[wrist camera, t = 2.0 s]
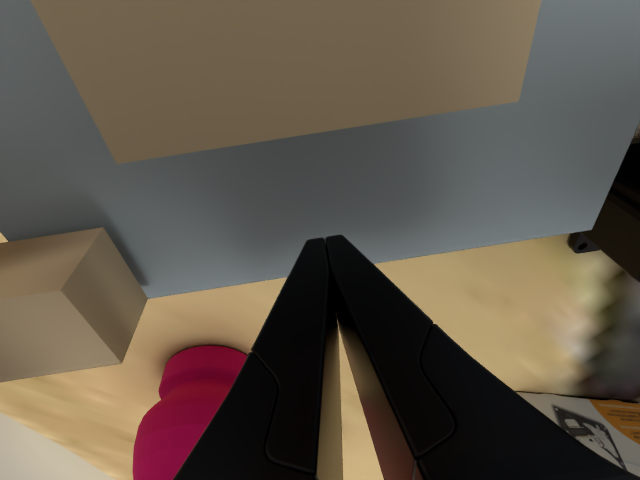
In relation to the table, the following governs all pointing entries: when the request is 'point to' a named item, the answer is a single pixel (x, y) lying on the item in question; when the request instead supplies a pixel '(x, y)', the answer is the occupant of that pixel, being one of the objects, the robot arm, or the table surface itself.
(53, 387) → the table surface
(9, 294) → the tan wooden bar
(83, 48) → the lid
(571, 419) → the hard drive box
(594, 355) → the table surface
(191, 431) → the pepper mill
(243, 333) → the table surface
